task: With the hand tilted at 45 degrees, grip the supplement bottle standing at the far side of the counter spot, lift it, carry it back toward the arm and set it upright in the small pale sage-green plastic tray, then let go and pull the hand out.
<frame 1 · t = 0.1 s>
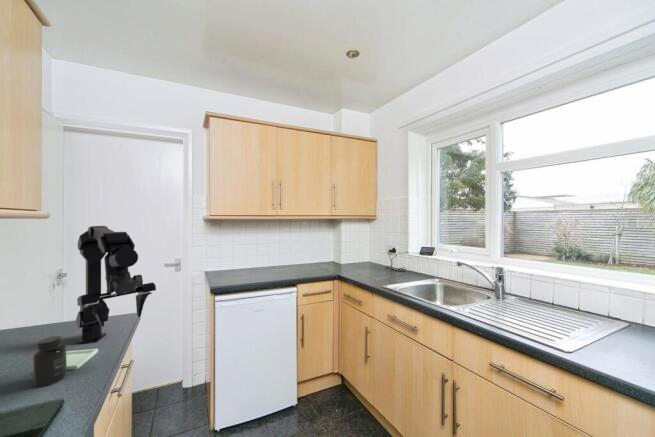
hand: (121, 321, 83), 15 cm above the countertop, tool pointing down, fingers open, 9 cm apart
supplement bottle: (50, 380, 79), on the countertop
sage tray: (68, 362, 88), on the countertop
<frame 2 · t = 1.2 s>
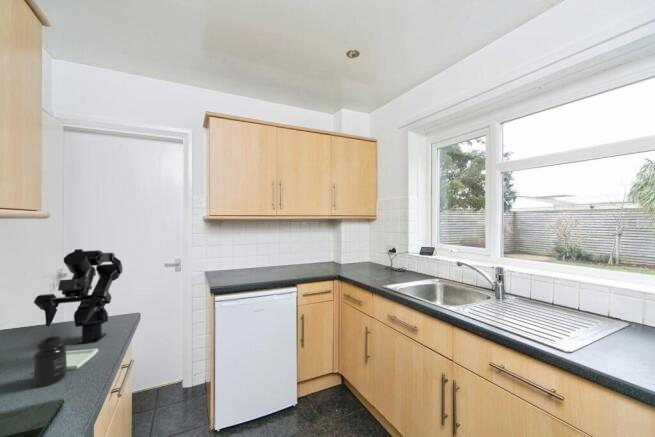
hand: (66, 324, 86), 13 cm above the countertop, tool tilted 45°, fingers open, 9 cm apart
nothing on the countertop moved.
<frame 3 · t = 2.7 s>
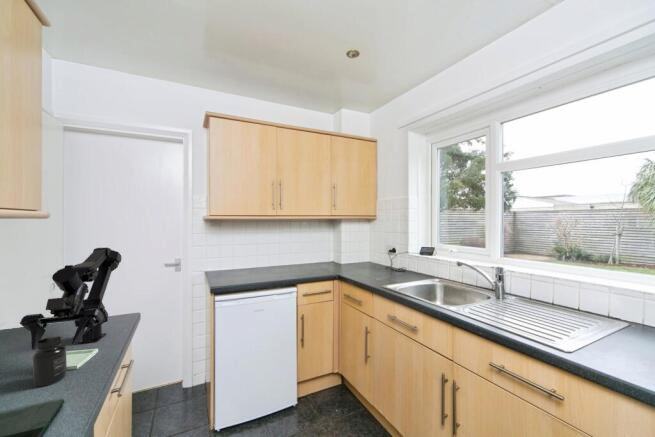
hand: (53, 346, 80), 9 cm above the countertop, tool tilted 45°, fingers open, 9 cm apart
nothing on the countertop moved.
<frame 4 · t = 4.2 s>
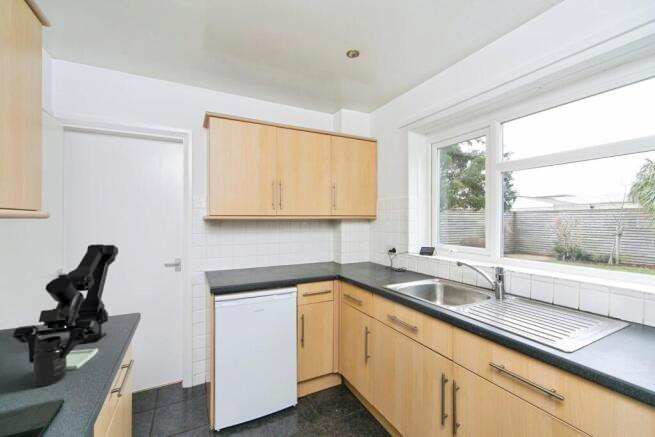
hand: (47, 360, 78), 7 cm above the countertop, tool tilted 45°, fingers closed on supplement bottle, 7 cm apart
supplement bottle: (50, 380, 79), on the countertop, touching gripper
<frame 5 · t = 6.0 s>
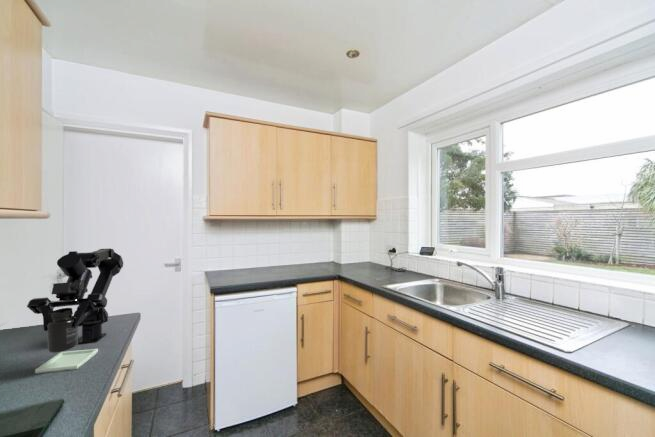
hand: (60, 328, 84), 13 cm above the countertop, tool tilted 45°, fingers closed on supplement bottle, 7 cm apart
supplement bottle: (63, 348, 85), point 6 cm above the countertop, touching gripper
when the fingers open (8 cm above the countertop, at t = 8.2 s): supplement bottle stays where it is, resting on sage tray.
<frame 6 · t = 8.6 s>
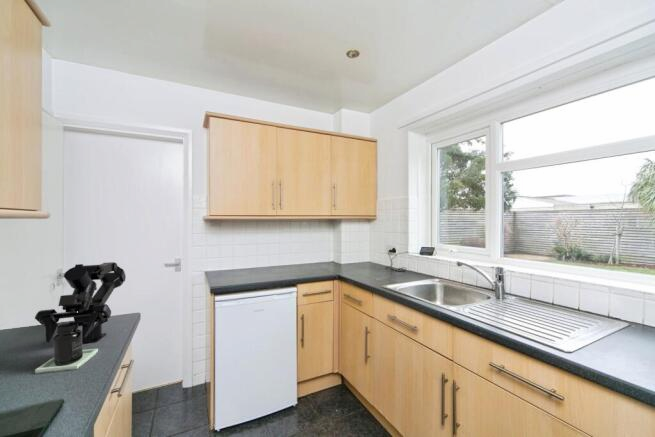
hand: (66, 339, 87), 8 cm above the countertop, tool tilted 45°, fingers open, 9 cm apart
supplement bottle: (68, 361, 88), resting on sage tray
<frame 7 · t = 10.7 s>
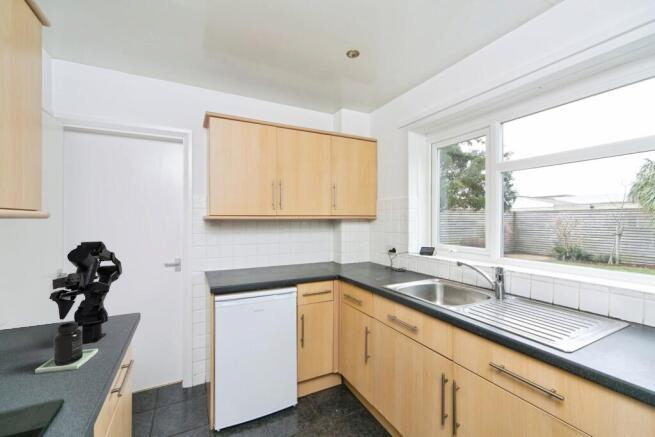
hand: (72, 317, 92), 13 cm above the countertop, tool tilted 30°, fingers open, 9 cm apart
nothing on the countertop moved.
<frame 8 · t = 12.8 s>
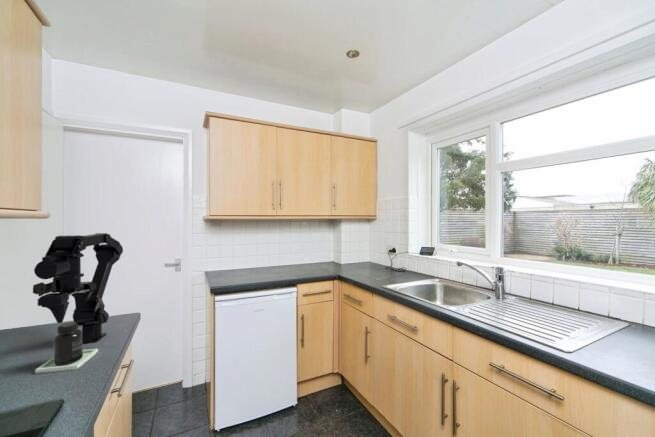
hand: (69, 317, 92), 13 cm above the countertop, tool pointing down, fingers open, 9 cm apart
nothing on the countertop moved.
at the end: supplement bottle 0.0 cm off-centre on the sage tray, point 0.2 cm above the sage tray's base; supplement bottle tilted 0°; the gripper is holding nothing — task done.
